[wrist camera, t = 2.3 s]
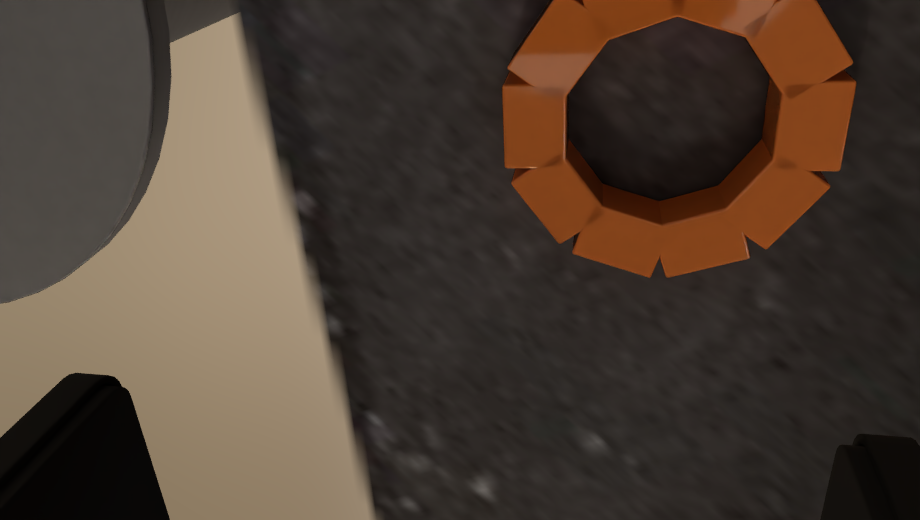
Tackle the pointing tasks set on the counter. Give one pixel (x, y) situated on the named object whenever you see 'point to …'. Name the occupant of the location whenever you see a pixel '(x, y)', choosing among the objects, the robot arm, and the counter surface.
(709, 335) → the counter surface
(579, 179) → the ring
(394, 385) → the counter surface
